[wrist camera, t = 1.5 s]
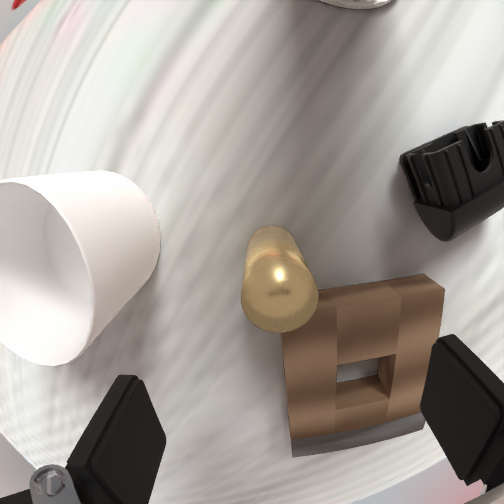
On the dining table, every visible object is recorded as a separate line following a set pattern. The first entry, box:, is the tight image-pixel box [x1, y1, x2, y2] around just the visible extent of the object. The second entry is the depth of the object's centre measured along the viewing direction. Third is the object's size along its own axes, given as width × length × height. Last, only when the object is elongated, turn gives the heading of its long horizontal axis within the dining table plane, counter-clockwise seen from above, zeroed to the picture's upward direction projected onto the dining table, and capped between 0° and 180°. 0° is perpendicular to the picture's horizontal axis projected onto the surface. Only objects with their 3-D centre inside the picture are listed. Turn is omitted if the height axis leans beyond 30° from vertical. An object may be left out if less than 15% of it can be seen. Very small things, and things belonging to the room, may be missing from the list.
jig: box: [281, 274, 445, 457], centre depth 26 cm, size 16×14×5 cm
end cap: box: [400, 121, 504, 242], centre depth 20 cm, size 10×7×7 cm
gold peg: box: [241, 226, 318, 333], centre depth 21 cm, size 4×4×10 cm
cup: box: [0, 171, 161, 366], centre depth 20 cm, size 12×12×12 cm
